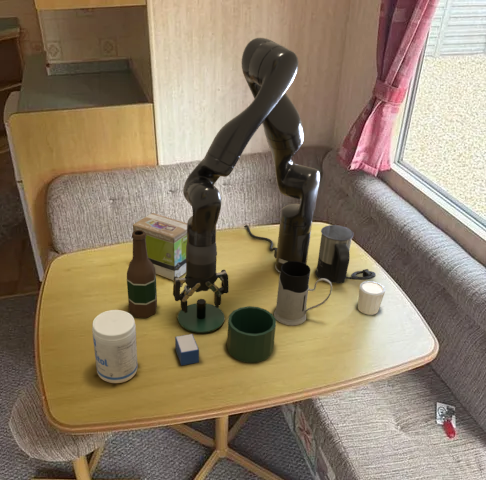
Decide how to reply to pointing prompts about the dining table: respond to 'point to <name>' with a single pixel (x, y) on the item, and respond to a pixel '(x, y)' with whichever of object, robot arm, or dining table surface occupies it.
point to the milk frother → (337, 255)
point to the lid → (201, 317)
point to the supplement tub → (115, 346)
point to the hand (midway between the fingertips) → (200, 308)
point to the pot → (251, 334)
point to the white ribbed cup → (370, 297)
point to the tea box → (165, 244)
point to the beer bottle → (141, 279)
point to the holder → (294, 293)
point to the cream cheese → (187, 349)
